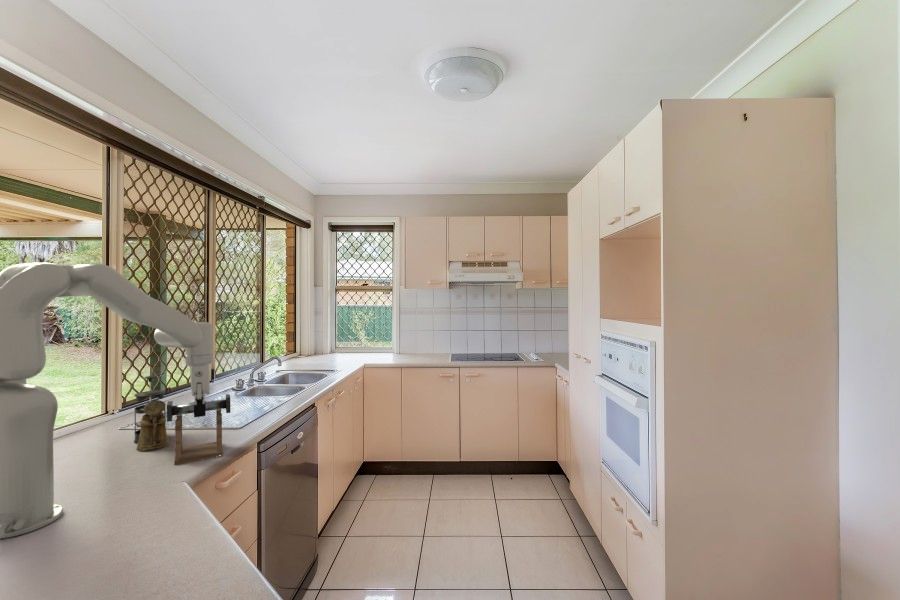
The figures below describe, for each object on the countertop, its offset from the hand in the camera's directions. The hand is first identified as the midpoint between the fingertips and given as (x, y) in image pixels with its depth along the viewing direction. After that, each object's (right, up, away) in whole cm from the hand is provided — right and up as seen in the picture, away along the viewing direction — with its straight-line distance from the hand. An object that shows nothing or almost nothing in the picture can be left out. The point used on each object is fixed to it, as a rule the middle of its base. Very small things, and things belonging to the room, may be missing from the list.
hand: (199, 414), depth 129 cm
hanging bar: (0, 0, 0) cm, 0 cm away
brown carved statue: (-19, -13, +5) cm, 24 cm away
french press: (-27, -13, +14) cm, 33 cm away
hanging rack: (0, -13, 0) cm, 13 cm away
